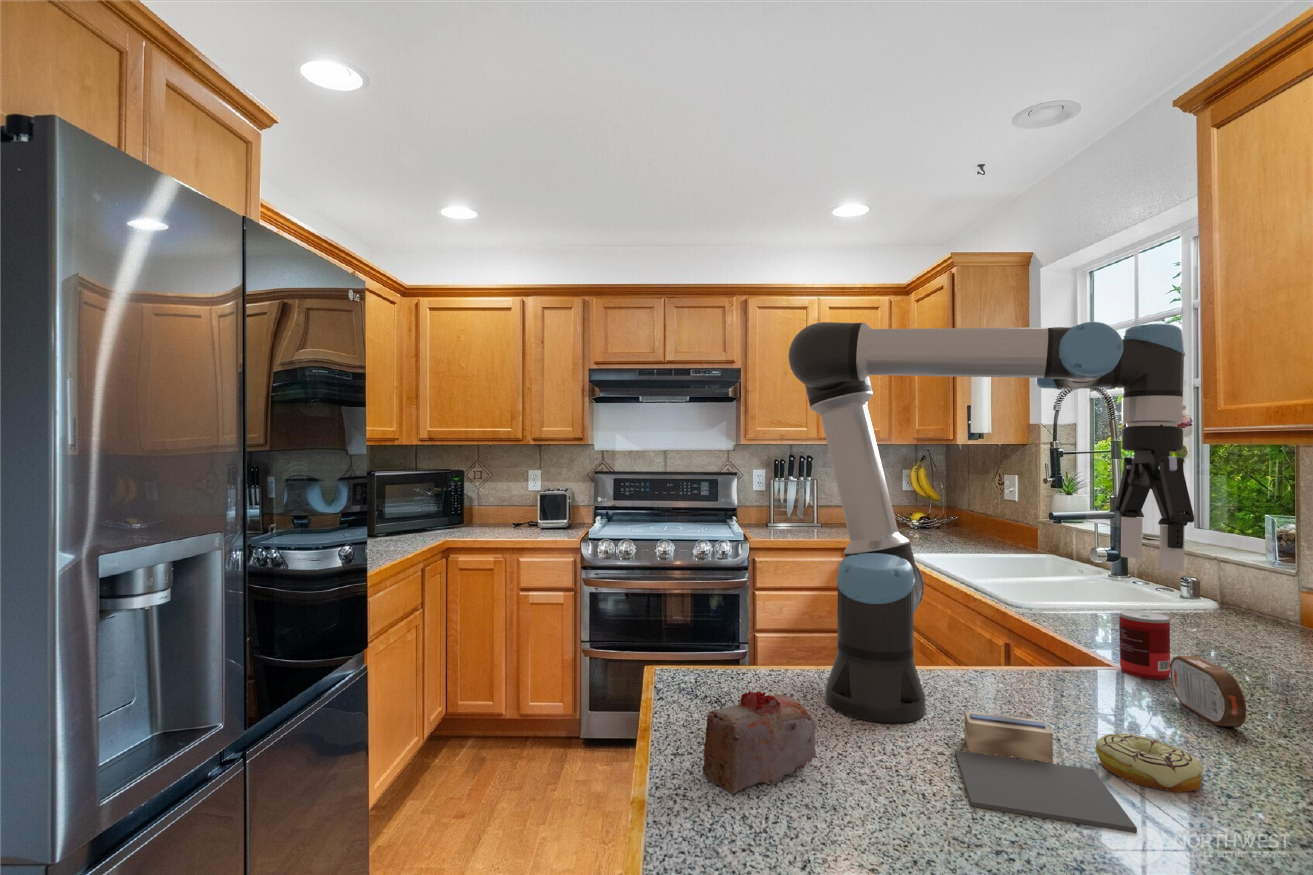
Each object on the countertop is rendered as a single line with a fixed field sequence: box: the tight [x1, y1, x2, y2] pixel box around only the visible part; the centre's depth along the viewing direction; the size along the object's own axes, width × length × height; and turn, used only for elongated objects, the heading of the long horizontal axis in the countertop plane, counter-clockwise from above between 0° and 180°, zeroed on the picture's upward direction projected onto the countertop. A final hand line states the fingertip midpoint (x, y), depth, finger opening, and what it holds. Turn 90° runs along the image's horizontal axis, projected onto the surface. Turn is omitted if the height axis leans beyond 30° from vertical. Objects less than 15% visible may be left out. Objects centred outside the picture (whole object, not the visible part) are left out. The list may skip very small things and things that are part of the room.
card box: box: [964, 710, 1054, 764], centre depth 89 cm, size 10×4×4 cm, turn 71°
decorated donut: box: [1095, 733, 1204, 793], centre depth 83 cm, size 10×11×4 cm
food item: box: [702, 690, 817, 795], centre depth 82 cm, size 14×8×10 cm, turn 126°
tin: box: [1170, 654, 1247, 728], centre depth 103 cm, size 15×3×8 cm, turn 168°
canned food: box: [1118, 609, 1171, 681], centre depth 124 cm, size 8×8×11 cm
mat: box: [954, 750, 1138, 833], centre depth 79 cm, size 16×14×1 cm
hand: (1150, 563), depth 100 cm, fingers open, 13 cm apart
